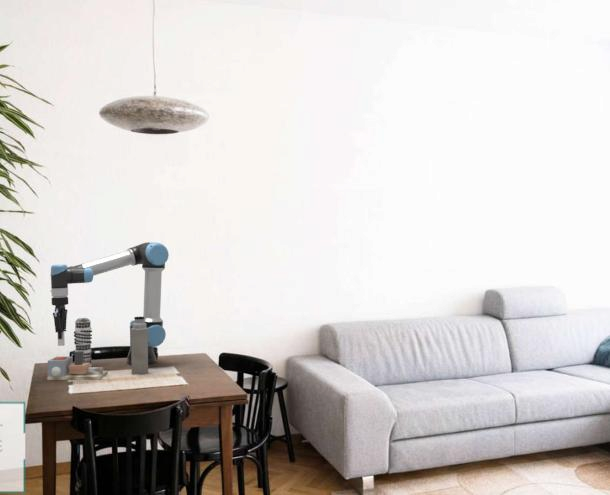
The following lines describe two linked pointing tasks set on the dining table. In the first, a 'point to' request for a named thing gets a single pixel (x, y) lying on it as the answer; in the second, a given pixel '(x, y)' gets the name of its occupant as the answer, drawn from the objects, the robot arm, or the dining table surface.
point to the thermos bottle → (139, 346)
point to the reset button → (60, 358)
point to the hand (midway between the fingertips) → (61, 345)
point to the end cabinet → (59, 367)
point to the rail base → (84, 375)
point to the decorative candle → (83, 338)
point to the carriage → (78, 364)
